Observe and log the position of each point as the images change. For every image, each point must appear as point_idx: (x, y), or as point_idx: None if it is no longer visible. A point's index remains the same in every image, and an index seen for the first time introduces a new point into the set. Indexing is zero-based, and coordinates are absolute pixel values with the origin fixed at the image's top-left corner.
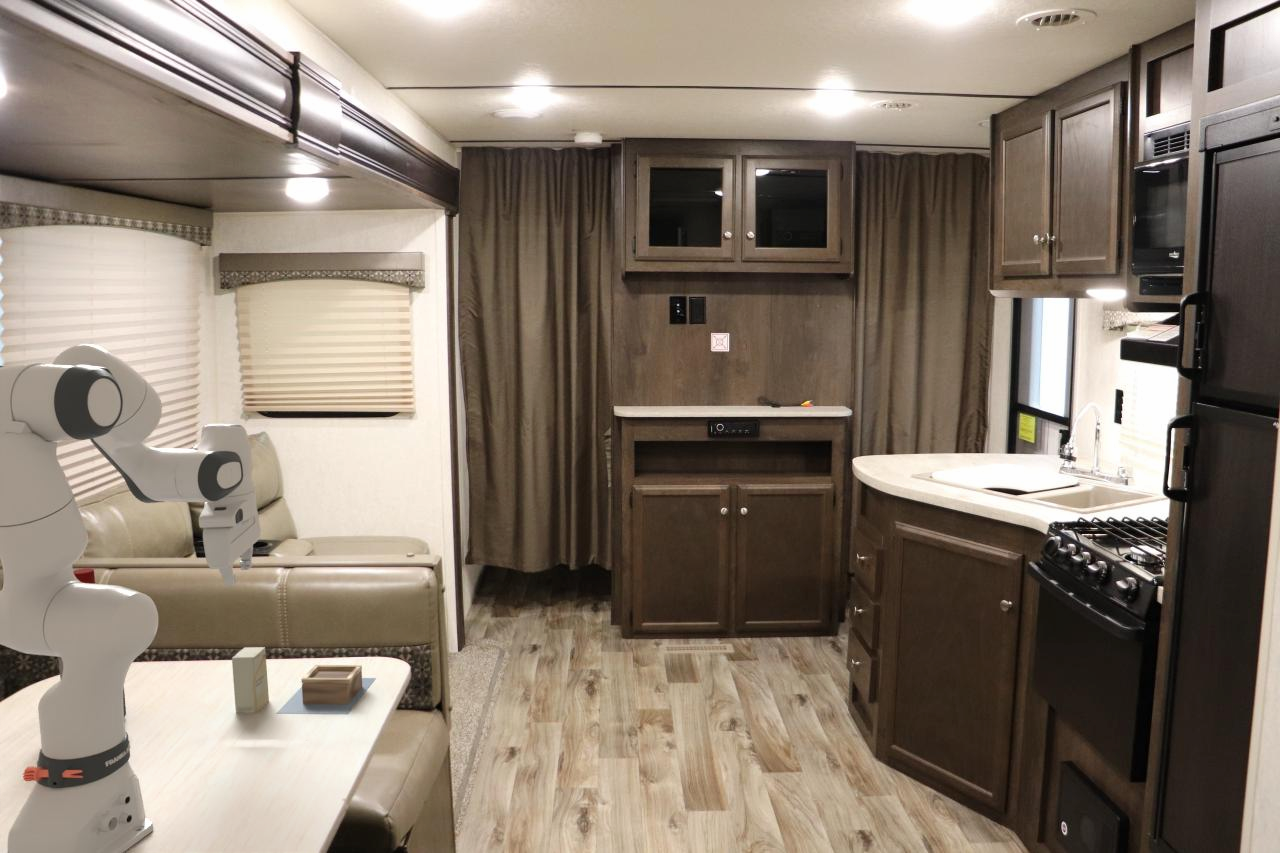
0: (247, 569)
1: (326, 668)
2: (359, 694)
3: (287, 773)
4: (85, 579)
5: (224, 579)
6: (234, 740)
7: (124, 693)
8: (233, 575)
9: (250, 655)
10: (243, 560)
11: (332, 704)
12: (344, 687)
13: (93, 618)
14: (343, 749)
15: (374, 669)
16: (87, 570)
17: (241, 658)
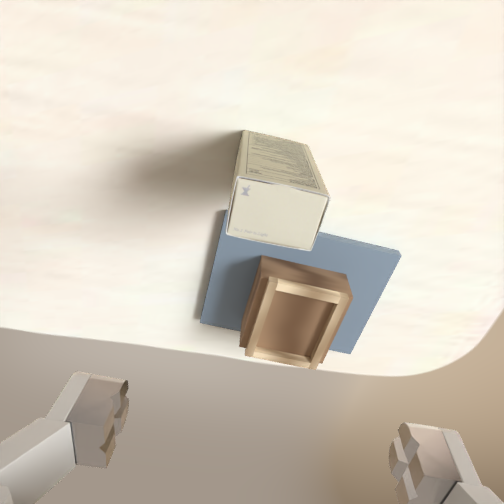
0: (391, 446)
1: (330, 315)
2: None
3: (3, 251)
4: None
5: (54, 408)
6: (130, 146)
7: None
8: (69, 466)
9: (244, 224)
10: (438, 491)
11: (246, 300)
12: (240, 339)
13: None
14: (89, 316)
15: (416, 344)
16: None
17: (231, 202)
